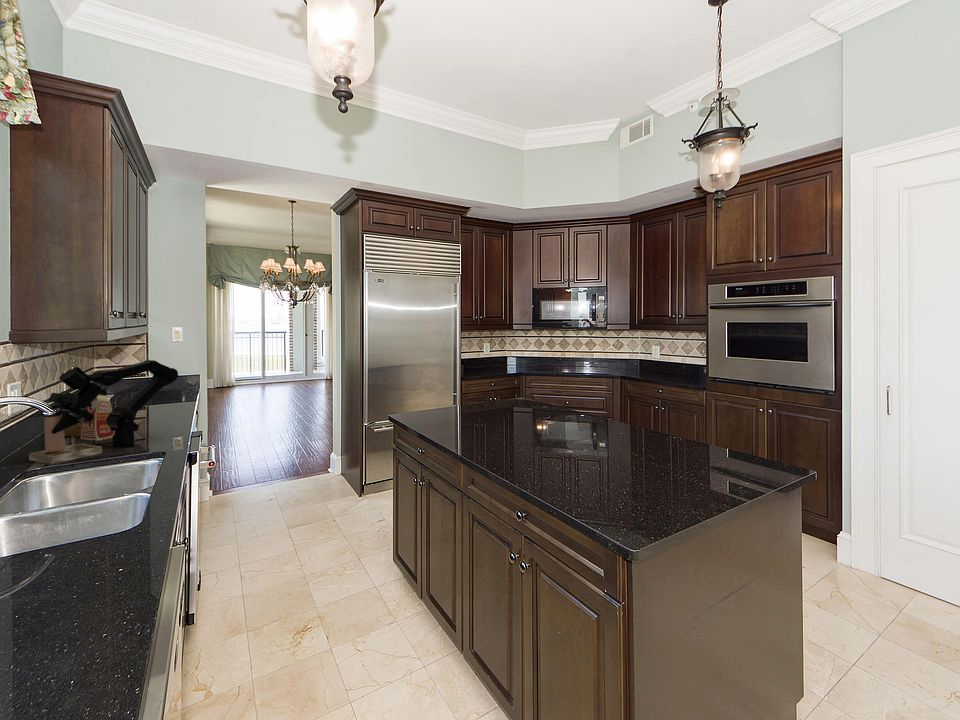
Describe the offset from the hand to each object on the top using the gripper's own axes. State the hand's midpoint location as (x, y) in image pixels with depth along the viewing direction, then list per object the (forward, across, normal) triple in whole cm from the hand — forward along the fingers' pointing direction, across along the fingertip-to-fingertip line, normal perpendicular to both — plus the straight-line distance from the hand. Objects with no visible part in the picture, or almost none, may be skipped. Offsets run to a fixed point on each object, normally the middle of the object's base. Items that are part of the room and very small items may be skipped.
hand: (49, 432), depth 165 cm
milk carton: (-14, -23, +29) cm, 40 cm away
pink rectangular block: (+4, 0, +6) cm, 7 cm away
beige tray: (+4, 0, +11) cm, 11 cm away
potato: (-12, -36, +27) cm, 46 cm away
